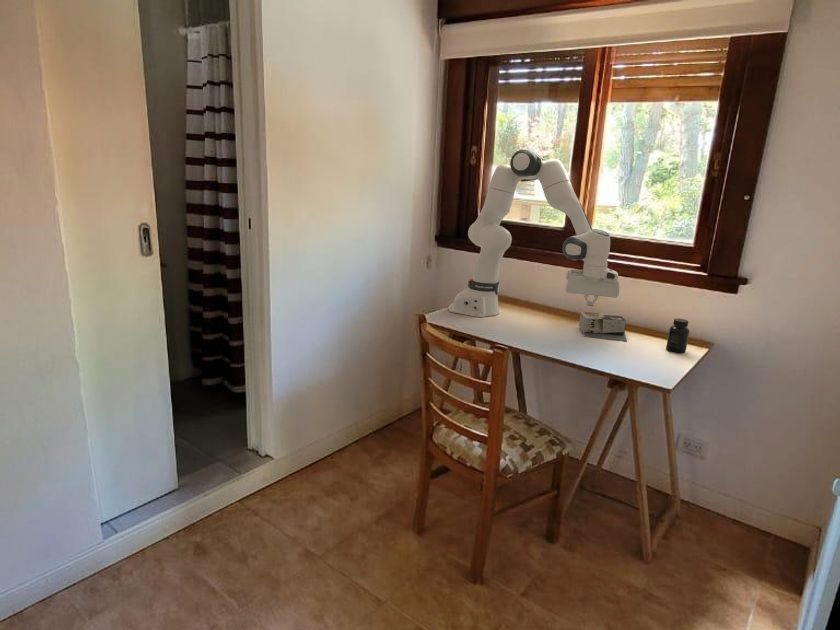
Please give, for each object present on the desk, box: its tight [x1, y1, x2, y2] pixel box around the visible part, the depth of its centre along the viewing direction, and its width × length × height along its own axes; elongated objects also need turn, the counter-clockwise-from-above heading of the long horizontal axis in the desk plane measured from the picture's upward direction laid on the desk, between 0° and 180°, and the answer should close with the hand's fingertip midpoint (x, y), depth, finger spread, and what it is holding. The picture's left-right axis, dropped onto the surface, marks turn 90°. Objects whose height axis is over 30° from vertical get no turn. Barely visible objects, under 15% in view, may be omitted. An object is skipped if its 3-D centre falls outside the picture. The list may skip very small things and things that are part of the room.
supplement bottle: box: [665, 318, 690, 355], centre depth 203 cm, size 7×7×12 cm
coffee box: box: [578, 311, 627, 335], centre depth 222 cm, size 9×6×16 cm
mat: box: [583, 331, 628, 343], centre depth 220 cm, size 16×13×1 cm
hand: (589, 305), depth 219 cm, fingers closed
